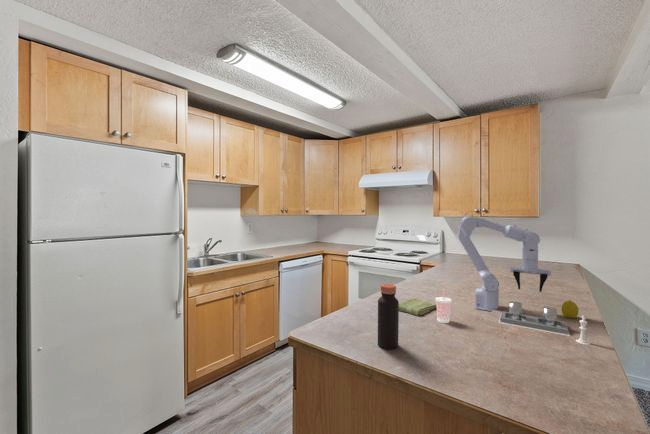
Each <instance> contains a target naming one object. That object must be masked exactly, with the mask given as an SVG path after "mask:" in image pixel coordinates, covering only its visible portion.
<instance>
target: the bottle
mask: <svg viewBox="0 0 650 434" xmlns="http://www.w3.org/2000/svg"><path fill="white" fill-rule="evenodd" d="M396 293H397V286H396V285H394V284H390V283H383V284H381V285H380V294H381V296H380V297H379V298H378V300H377V346H378V347H380V348H381V349H383V350H394V349H397V348H398V347H399V326H400V325H399V314H400V312H399V300H398V299H397V298H396V295H397V294H396Z"/></svg>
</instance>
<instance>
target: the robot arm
mask: <svg viewBox="0 0 650 434" xmlns="http://www.w3.org/2000/svg"><path fill="white" fill-rule="evenodd" d="M475 228H488V229H490V230H493V231H496V232H500V233H502V234H503V236H504V237H505V238H508V239H511V240H514V241H516V242H522V250H521V251H522V263H521V264H522V265H521V267H513V266H511V267H510V268H509V271H510V273H512V275H513V276H514V278H515V281H516V284H517V288H518V290H521V274H530V275H531V274H532V275H539V293H541V292H542V290H543V287H544V284H545V282H547V279H548V276H549V277H550V276H551V275H552V271H551V270H547V269H542V268H541V269H540V268H539V244H540V242H541V238H540V236H539V235H538V234H537V233H536V232H533V231H531V230H529V229H528V228H527V229H526V228H525V229H524V228H521V227H518V226H517V225H516V224H508V225H503V224H500V223H497V222H494V221H493V220H492V221H491V220H489V219H487V218H482V217H476V216H475V217H474V216H472V215H465V216H464V217H462V219H461V221H460V223H459V229H458V240H459V241H460V243H461V245H462V247H463V249H464V250H465V251H466V254H467V256H468V257H469V259H470V260H471V262H472V264H473V266H474V267H475V269H476V271H477V272H478V274H479V276H480V278H481V283H482V285H481V286H480V287H476V289H475V301H474V303H475V304H474V306H475V307H474V308H475V309H477V310H482V311H487V312H493V310H499V306H500V305H499V304H500V303H499V302H500V300H499V299H500V298H499V297H500V295H499V294H500V289H499V288H500V287H499V286H500V282H499V280H498V279H497V277H496V275H495V274H493V273H492V272H491V271H490V270H489V268H488V265H487V264H486V263H485V261H484V260H483V258H482V256H481V254H480V253H479V251H478V250H477V248H476V246H475V244H474V242H473V240H472V239H471V235H472V233H473V231H474V230H475Z"/></svg>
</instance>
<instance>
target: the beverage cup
mask: <svg viewBox="0 0 650 434" xmlns="http://www.w3.org/2000/svg"><path fill="white" fill-rule="evenodd" d="M435 302H436V304H435V305H436V306H437V307H436V319H437V322H439V323H443V324H448V323H450V316H451V308H452V307H451V304H452V298H451V297H445V286H442V296H438V297H437V296H436V297H435Z"/></svg>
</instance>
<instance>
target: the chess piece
mask: <svg viewBox="0 0 650 434" xmlns="http://www.w3.org/2000/svg"><path fill="white" fill-rule="evenodd" d="M580 317H581V318H582V319H580V320H579V323H580V326H579V327H578V329H580V334H579V335H580V336H579V338H578V339H575V341H576V342H577V343H578V344H581V345H586V346H587V345H591V342H589V341H588V340H587V338H586V337H587V336H586V331H588V328H587V327H586V326H587V325H588V321H586V317H585V315H584V314H583V315H581V316H580Z"/></svg>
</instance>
